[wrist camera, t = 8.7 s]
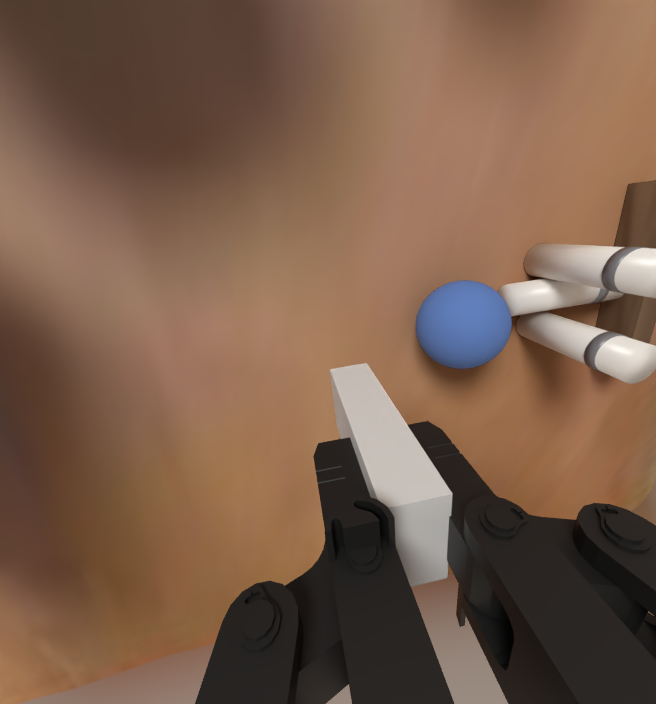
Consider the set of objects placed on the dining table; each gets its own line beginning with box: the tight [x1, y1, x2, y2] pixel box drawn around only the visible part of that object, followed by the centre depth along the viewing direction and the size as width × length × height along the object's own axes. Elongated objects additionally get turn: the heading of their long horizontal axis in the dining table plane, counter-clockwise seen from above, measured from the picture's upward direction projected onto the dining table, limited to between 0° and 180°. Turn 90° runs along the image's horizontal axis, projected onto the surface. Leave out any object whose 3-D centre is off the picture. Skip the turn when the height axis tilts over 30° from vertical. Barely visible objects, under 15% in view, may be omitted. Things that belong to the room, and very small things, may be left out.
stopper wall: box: [596, 180, 656, 344], centre depth 23 cm, size 2×14×3 cm, turn 7°
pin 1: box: [524, 243, 656, 298], centre depth 19 cm, size 2×2×8 cm
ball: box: [416, 281, 512, 369], centre depth 21 cm, size 6×6×6 cm
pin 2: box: [516, 311, 656, 384], centre depth 21 cm, size 2×2×8 cm
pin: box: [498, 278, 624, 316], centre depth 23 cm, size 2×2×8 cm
